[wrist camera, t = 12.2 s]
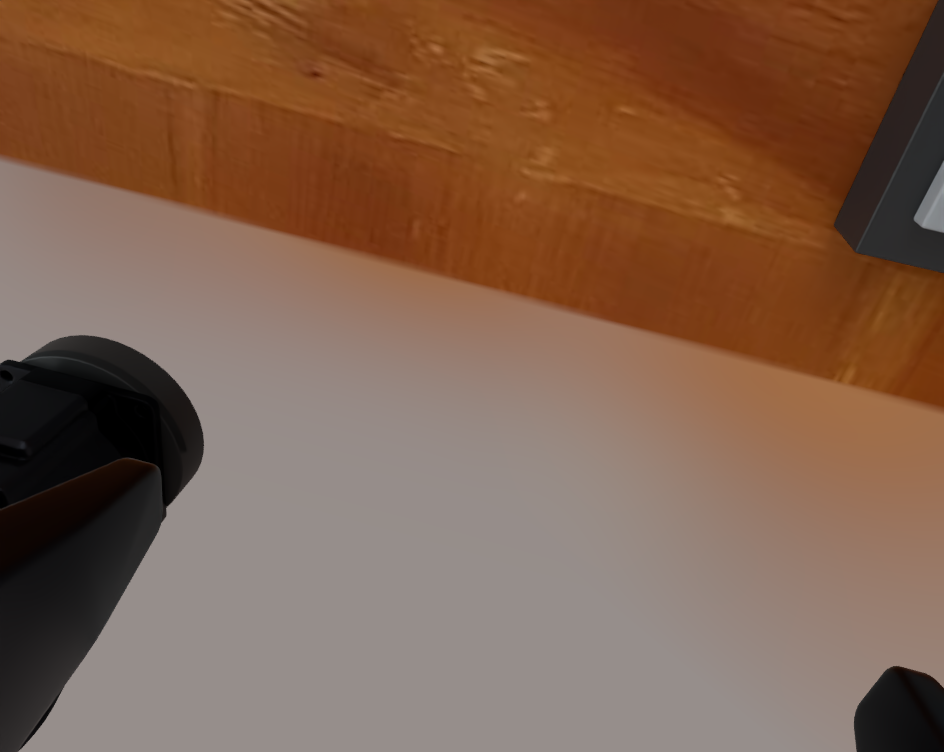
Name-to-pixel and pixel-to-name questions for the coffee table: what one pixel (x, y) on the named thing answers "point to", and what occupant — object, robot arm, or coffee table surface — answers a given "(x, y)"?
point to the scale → (905, 167)
